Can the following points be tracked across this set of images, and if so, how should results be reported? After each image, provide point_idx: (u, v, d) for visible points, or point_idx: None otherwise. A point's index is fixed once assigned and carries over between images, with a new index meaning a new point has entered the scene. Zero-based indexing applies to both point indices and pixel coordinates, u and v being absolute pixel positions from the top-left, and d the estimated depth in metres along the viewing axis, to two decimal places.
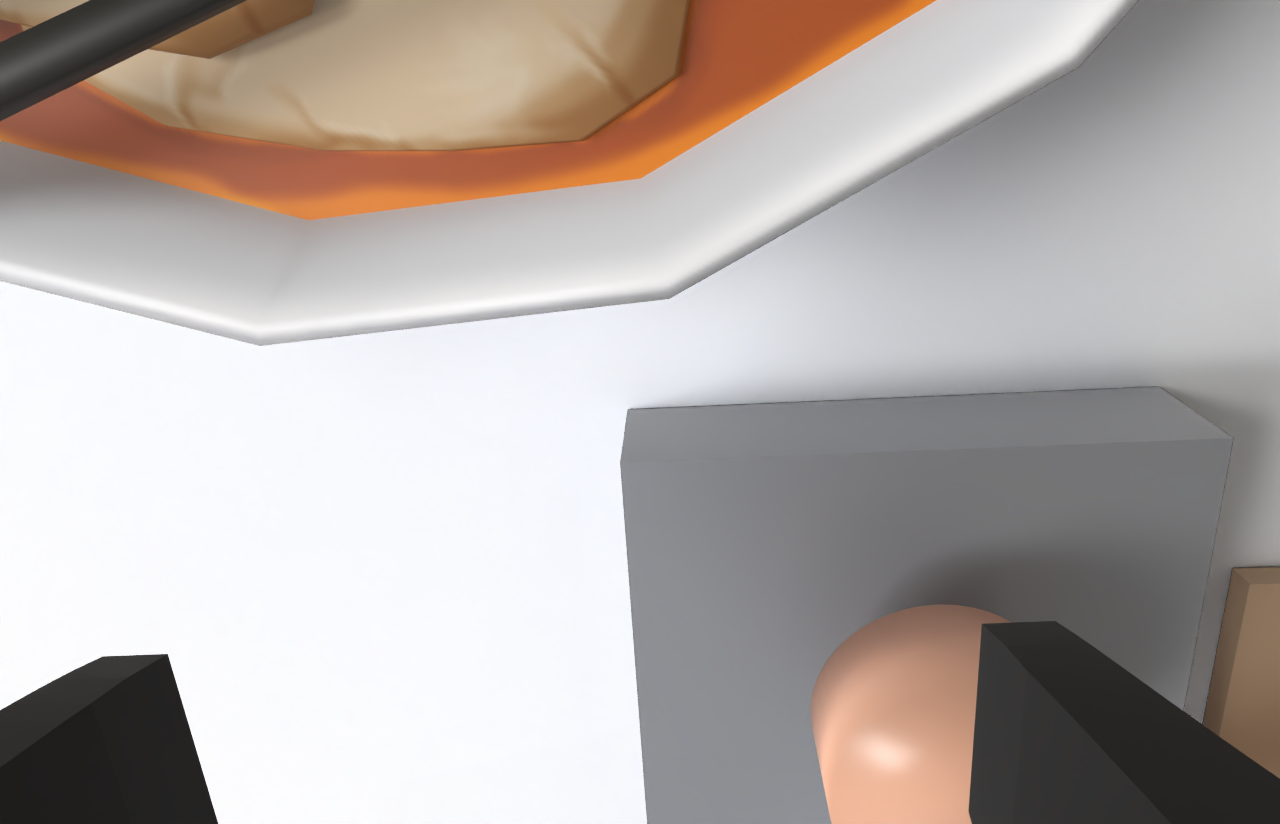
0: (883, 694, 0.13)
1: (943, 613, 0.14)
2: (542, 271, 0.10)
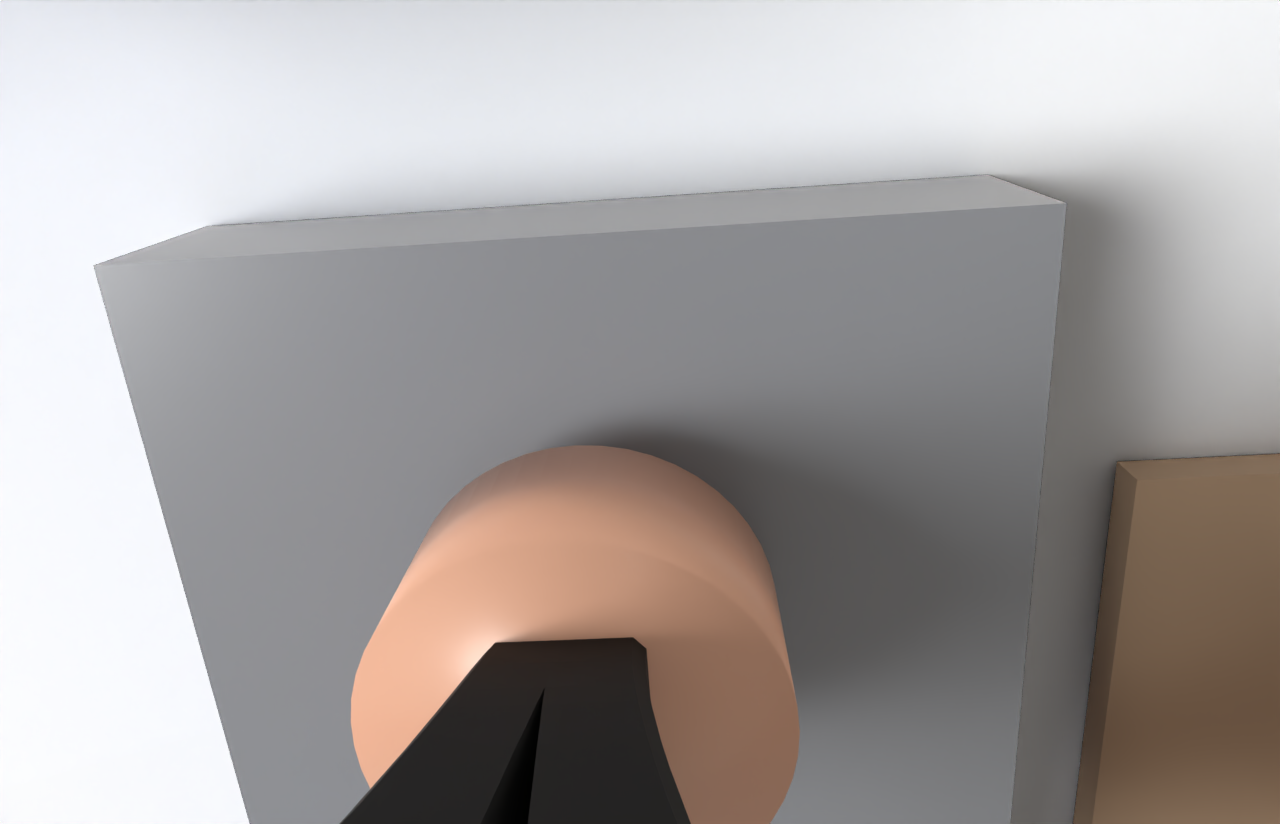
0: (426, 567, 0.08)
1: (574, 456, 0.09)
2: None
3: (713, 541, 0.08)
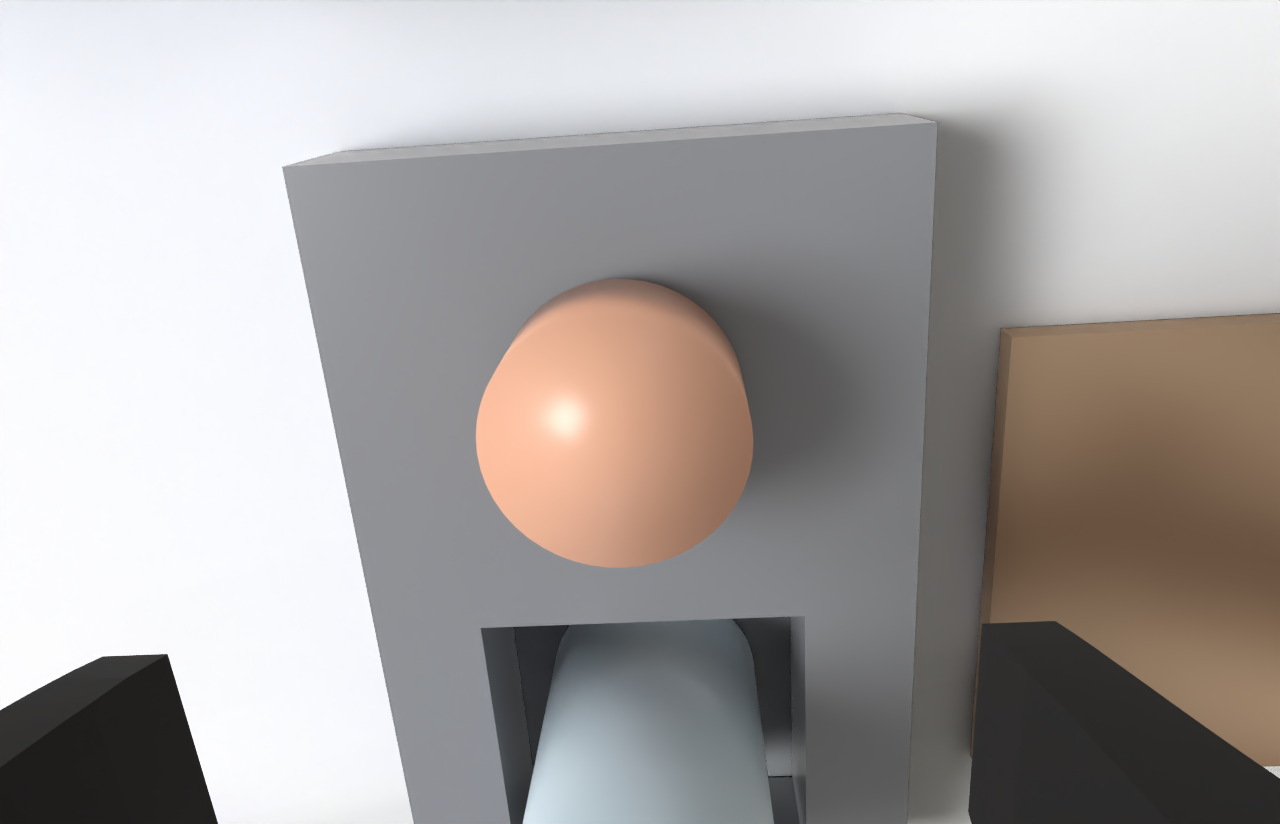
0: (523, 337, 0.13)
1: (612, 282, 0.14)
2: None
3: (700, 326, 0.13)
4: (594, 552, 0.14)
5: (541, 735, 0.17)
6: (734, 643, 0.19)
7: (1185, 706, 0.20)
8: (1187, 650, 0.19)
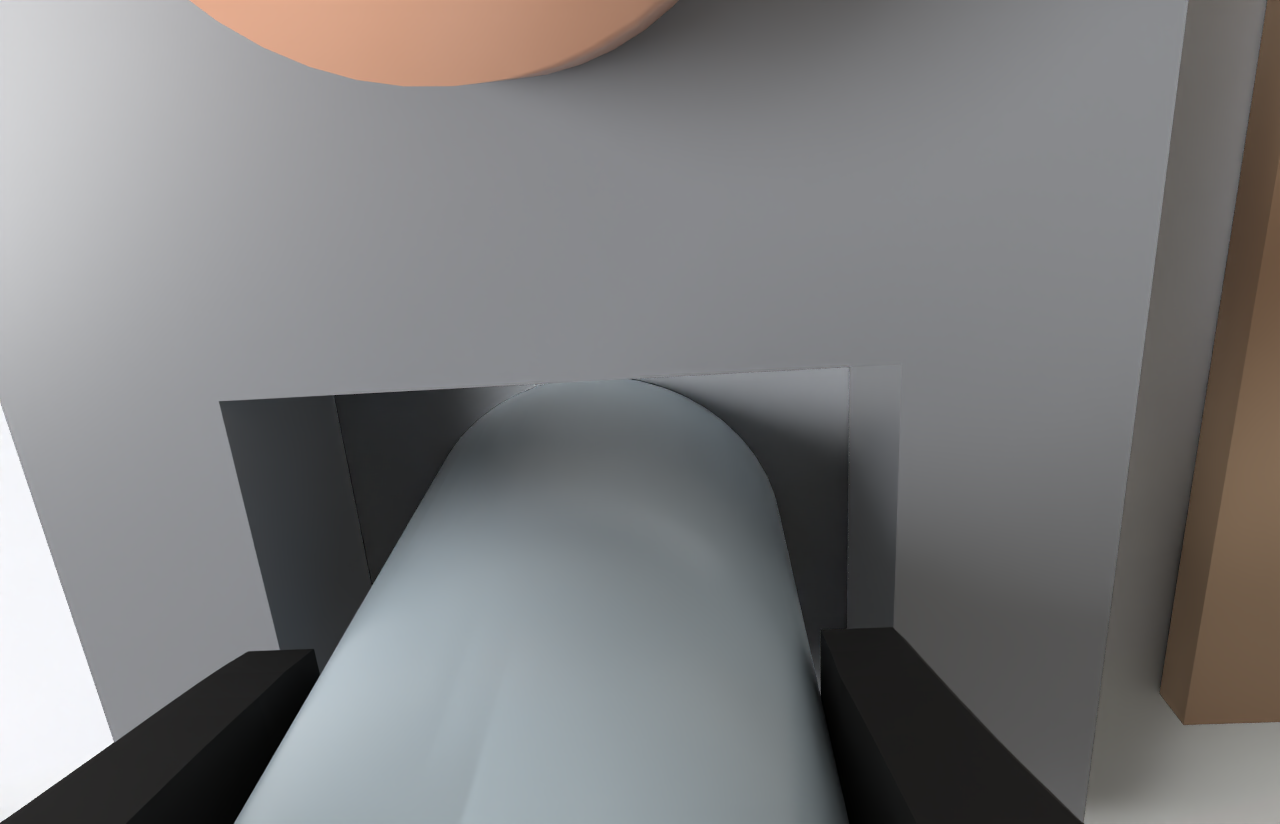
0: None
1: None
2: None
3: None
4: (366, 36, 0.05)
5: None
6: (747, 472, 0.10)
7: None
8: None
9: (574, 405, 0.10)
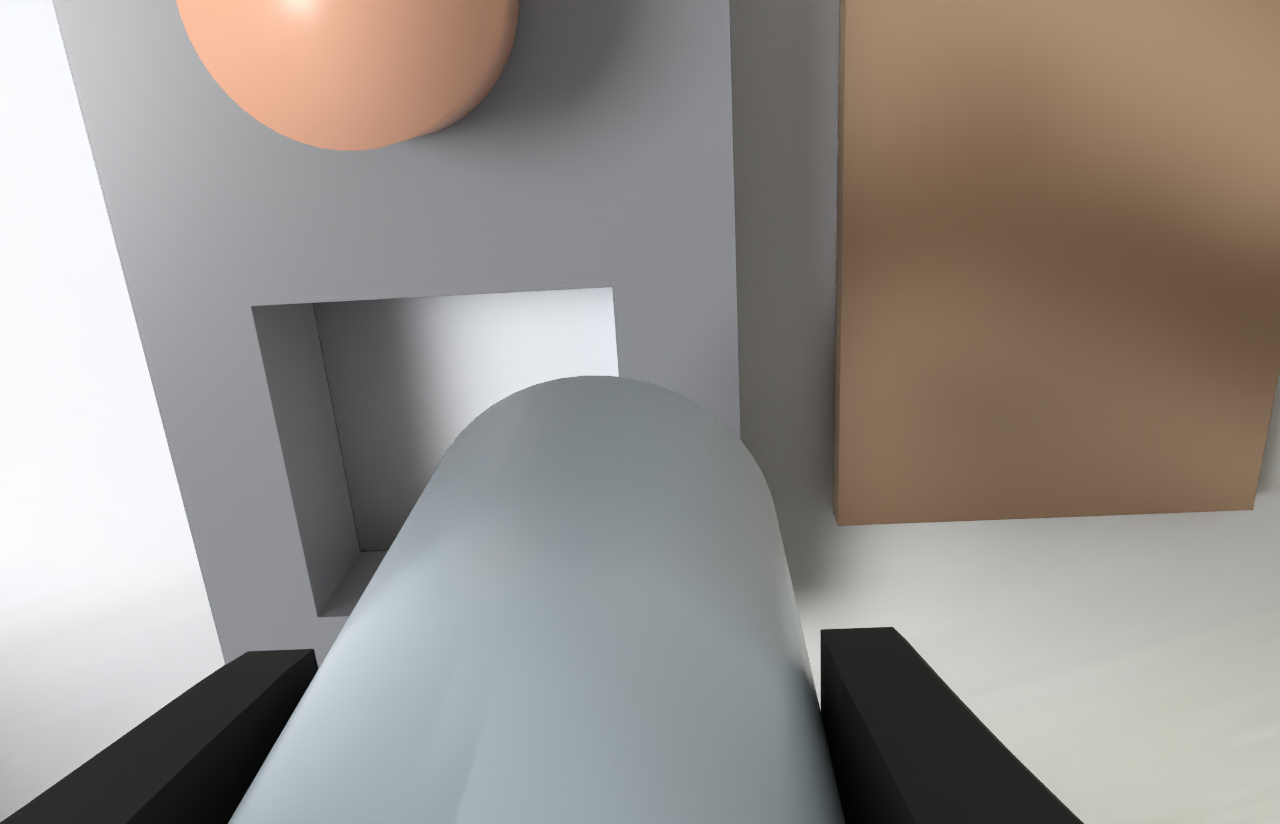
0: None
1: None
2: None
3: None
4: (323, 130, 0.12)
5: None
6: (744, 470, 0.10)
7: (1061, 440, 0.18)
8: (1060, 369, 0.17)
9: (571, 404, 0.10)
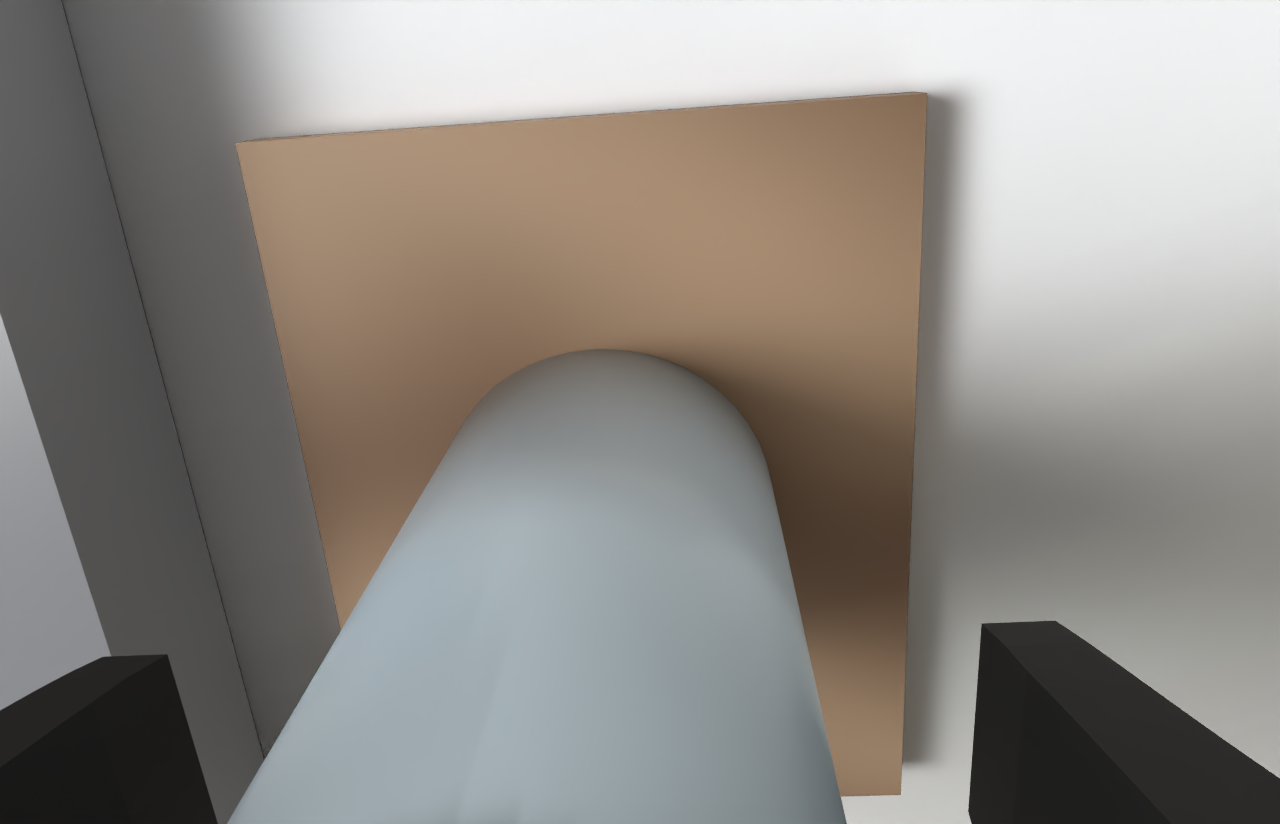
0: None
1: None
2: None
3: None
4: None
5: None
6: (741, 436, 0.11)
7: None
8: None
9: (582, 373, 0.11)
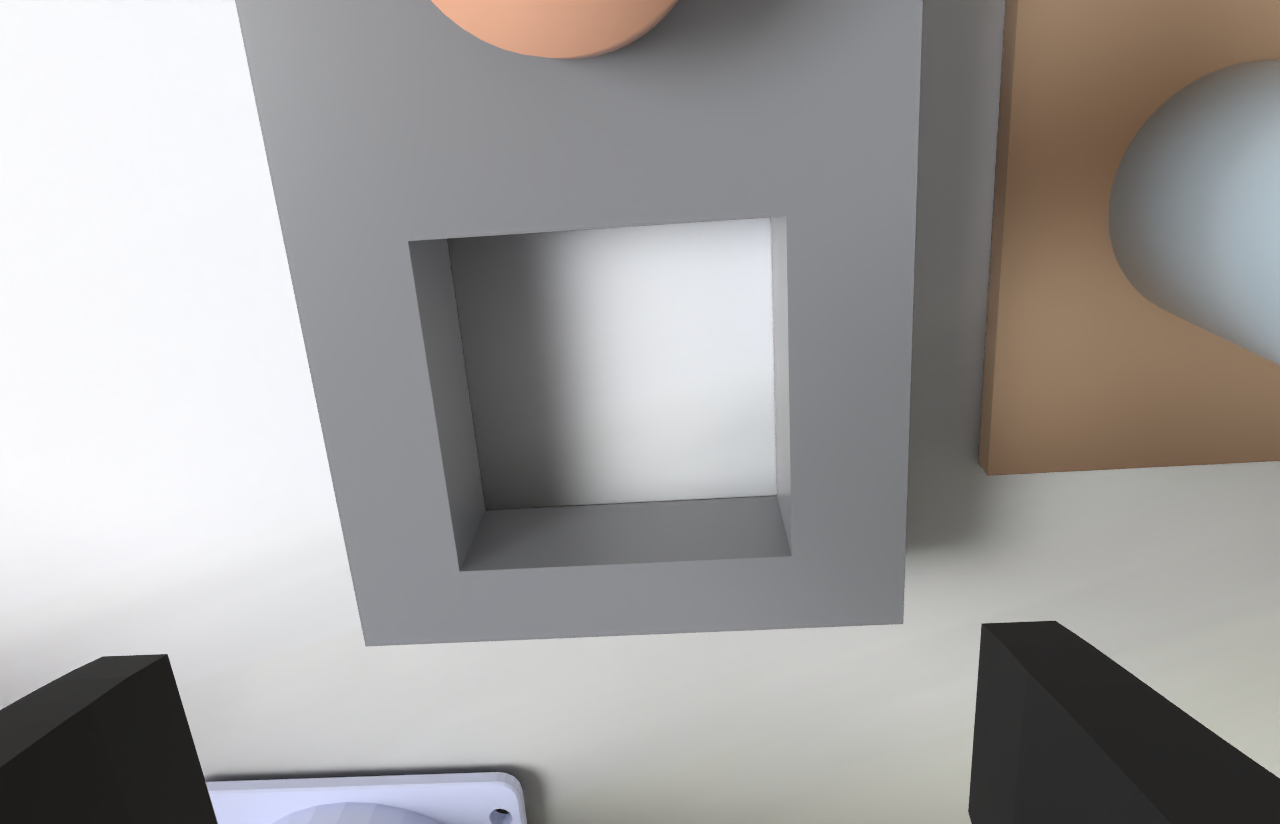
0: None
1: None
2: None
3: None
4: (526, 35, 0.11)
5: (1220, 168, 0.13)
6: None
7: (1224, 382, 0.17)
8: None
9: None
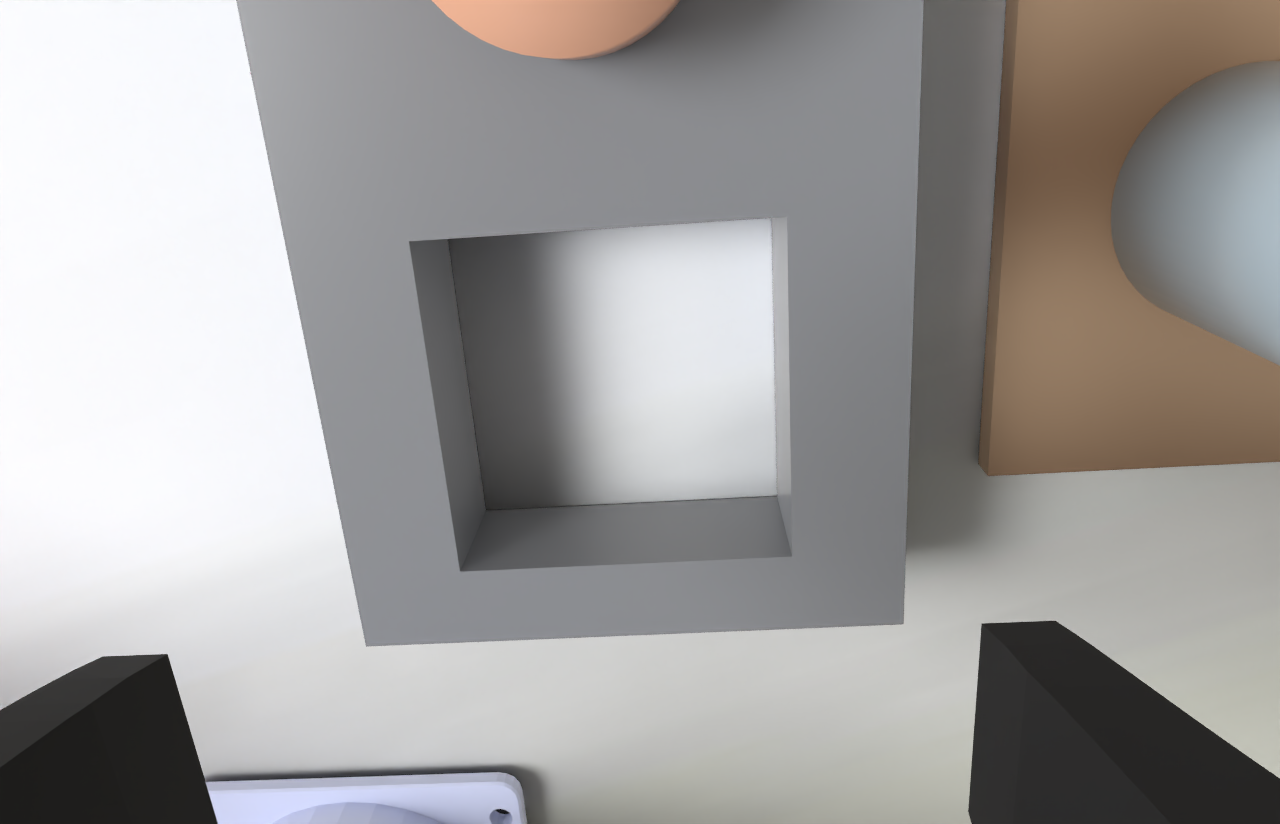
0: None
1: None
2: None
3: None
4: (528, 36, 0.11)
5: (1230, 170, 0.13)
6: None
7: (1224, 383, 0.17)
8: None
9: None
